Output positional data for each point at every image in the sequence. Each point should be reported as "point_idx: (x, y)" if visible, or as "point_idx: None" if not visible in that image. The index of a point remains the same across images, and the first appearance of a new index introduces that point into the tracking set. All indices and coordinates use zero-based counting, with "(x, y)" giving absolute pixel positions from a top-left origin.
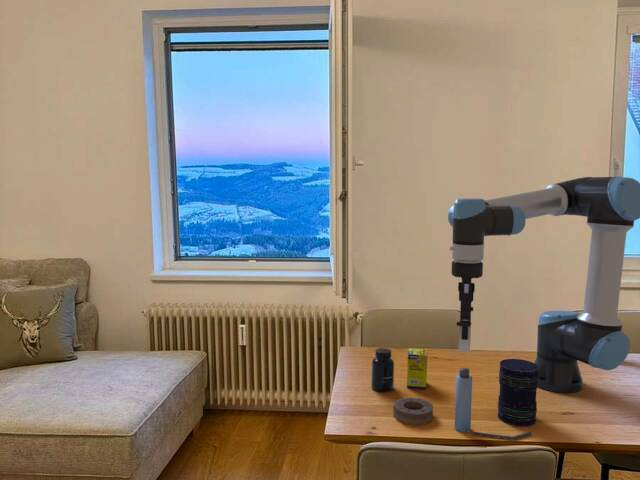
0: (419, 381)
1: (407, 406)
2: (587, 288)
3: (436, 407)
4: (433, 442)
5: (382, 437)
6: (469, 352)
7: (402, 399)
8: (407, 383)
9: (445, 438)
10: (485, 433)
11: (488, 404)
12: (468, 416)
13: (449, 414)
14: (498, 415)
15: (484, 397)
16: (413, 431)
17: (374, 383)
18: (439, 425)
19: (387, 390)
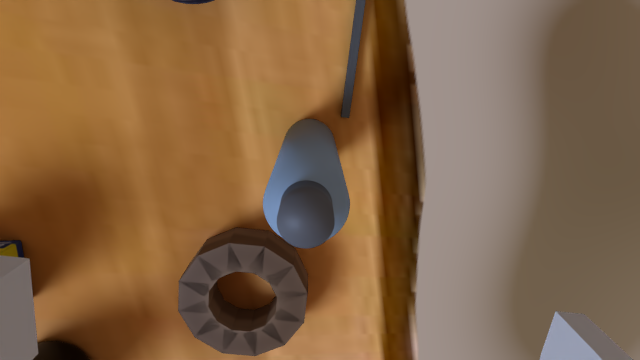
0: None
1: (218, 308)
2: None
3: (165, 212)
4: (407, 233)
5: (392, 354)
6: (582, 318)
7: (202, 333)
8: None
9: (379, 199)
10: (348, 75)
11: (83, 22)
12: (332, 139)
13: (210, 175)
14: (194, 2)
15: (17, 28)
16: (347, 282)
17: None
18: None
19: (86, 357)
